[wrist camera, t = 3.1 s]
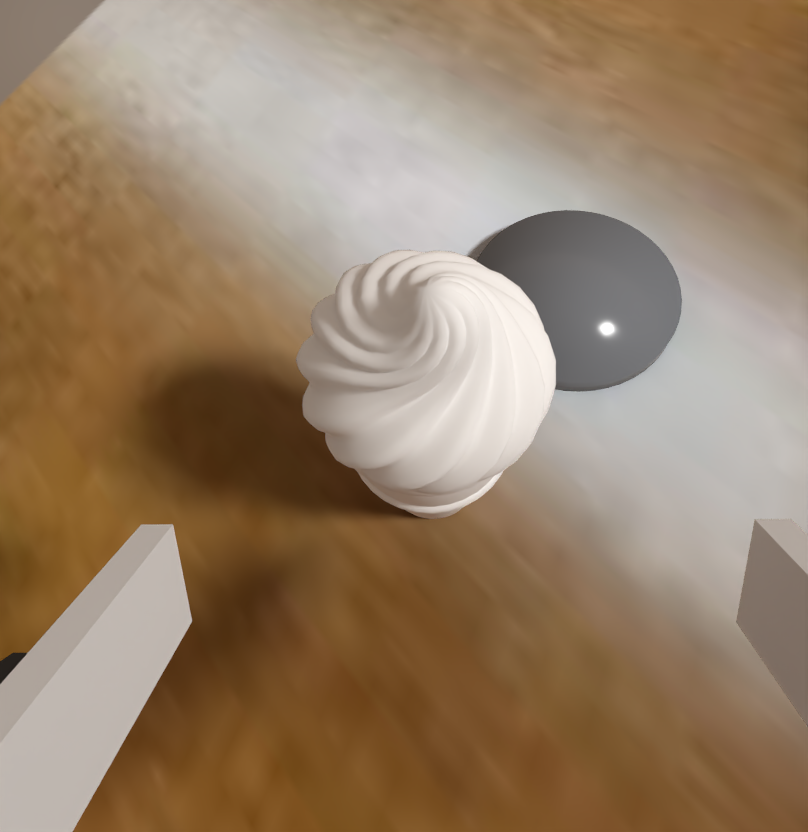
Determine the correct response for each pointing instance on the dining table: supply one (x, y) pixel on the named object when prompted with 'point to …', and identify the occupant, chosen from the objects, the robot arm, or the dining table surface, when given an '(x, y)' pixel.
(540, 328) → the soft serve ice cream cone
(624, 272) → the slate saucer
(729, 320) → the dining table surface
